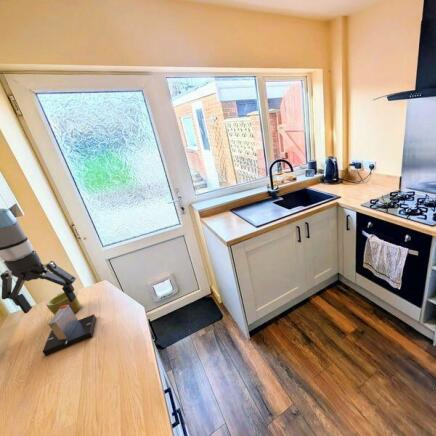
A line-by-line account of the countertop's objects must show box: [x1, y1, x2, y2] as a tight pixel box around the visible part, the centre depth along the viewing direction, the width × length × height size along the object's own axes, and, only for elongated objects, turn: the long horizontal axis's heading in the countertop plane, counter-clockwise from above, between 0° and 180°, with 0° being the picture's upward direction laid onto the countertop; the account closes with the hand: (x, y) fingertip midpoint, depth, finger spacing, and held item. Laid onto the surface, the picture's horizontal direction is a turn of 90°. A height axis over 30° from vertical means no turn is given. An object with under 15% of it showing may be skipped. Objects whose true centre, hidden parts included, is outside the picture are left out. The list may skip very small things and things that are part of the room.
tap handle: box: [47, 305, 79, 342], centre depth 92 cm, size 9×2×9 cm, turn 17°
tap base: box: [42, 314, 98, 357], centre depth 94 cm, size 14×13×3 cm
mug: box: [46, 291, 82, 316], centre depth 107 cm, size 12×10×10 cm
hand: (51, 305), depth 88 cm, fingers open, 13 cm apart
